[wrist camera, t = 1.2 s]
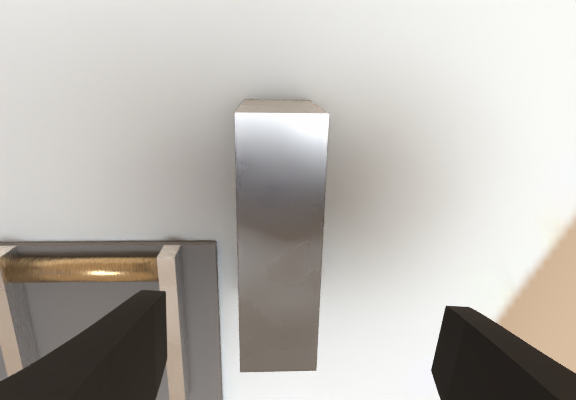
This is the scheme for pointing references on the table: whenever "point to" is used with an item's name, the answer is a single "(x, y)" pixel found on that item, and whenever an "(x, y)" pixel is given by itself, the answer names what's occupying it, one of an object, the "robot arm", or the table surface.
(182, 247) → the grey slide base plate
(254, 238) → the dark gray rectangular chunk
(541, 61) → the table surface
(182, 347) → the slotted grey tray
